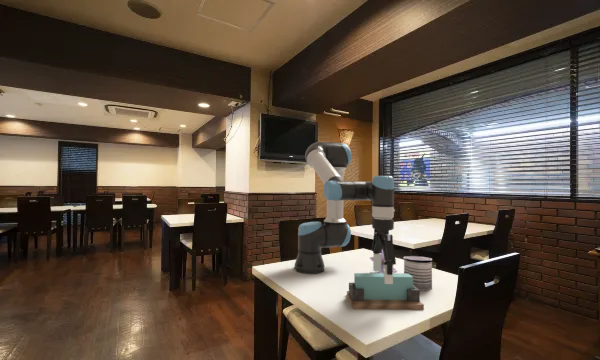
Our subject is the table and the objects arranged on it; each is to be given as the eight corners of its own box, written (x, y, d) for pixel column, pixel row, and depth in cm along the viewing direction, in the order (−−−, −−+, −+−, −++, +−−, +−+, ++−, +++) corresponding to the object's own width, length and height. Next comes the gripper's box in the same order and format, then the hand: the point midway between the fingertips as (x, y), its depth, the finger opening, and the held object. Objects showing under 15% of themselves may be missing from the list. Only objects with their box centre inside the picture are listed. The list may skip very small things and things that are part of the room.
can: (403, 288, 112) (403, 258, 112) (403, 279, 123) (403, 252, 123) (433, 292, 108) (433, 261, 108) (431, 283, 118) (431, 255, 119)
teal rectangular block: (356, 299, 96) (356, 276, 97) (354, 295, 100) (354, 273, 101) (413, 299, 96) (412, 277, 97) (408, 295, 100) (408, 273, 101)
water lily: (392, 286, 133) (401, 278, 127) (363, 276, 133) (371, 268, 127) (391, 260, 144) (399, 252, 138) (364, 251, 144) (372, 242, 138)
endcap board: (353, 308, 92) (353, 292, 92) (346, 294, 104) (346, 280, 104) (423, 309, 92) (423, 292, 92) (409, 295, 104) (409, 280, 104)
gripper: (406, 223, 87) (406, 290, 86) (382, 214, 112) (382, 266, 111) (383, 222, 87) (382, 289, 86) (364, 214, 112) (363, 266, 111)
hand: (382, 276), depth 99 cm, fingers open, 13 cm apart
